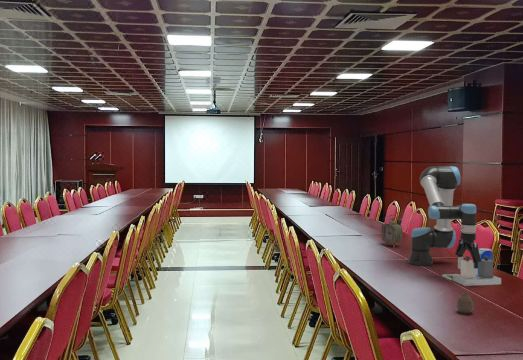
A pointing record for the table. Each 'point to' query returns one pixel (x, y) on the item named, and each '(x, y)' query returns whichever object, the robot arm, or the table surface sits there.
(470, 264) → the plug
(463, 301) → the grey rounded lump
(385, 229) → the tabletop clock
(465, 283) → the metal socket frame
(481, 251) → the beer can
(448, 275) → the tray
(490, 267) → the twin plug
